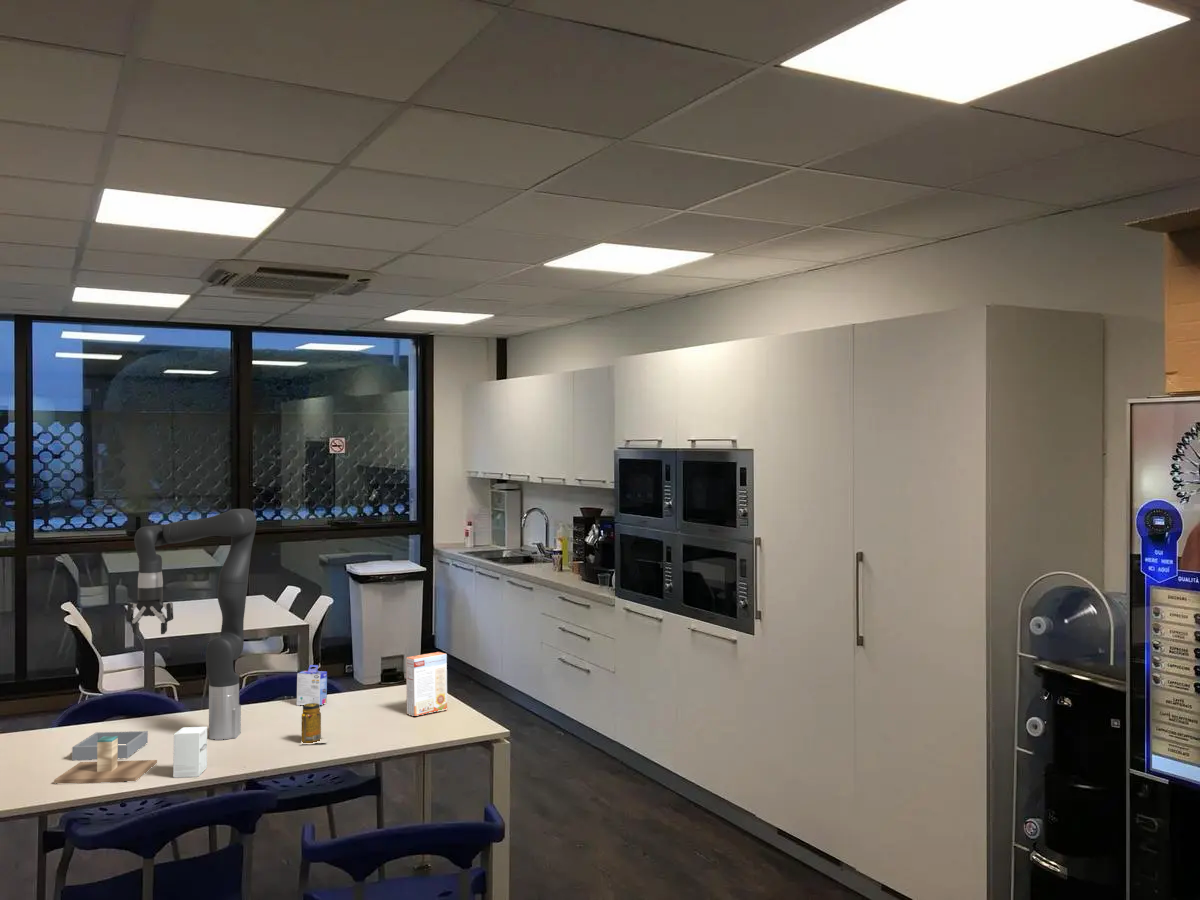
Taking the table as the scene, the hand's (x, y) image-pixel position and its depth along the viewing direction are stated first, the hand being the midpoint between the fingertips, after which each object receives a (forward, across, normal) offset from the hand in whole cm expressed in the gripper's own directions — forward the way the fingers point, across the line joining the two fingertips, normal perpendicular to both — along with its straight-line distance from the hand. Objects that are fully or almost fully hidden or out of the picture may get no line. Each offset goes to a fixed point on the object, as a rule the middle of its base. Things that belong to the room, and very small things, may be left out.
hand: (149, 634), depth 314 cm
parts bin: (+33, -4, -20) cm, 39 cm away
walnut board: (+33, +4, -42) cm, 54 cm away
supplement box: (+33, +28, -44) cm, 62 cm away
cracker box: (+33, +90, +18) cm, 98 cm away
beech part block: (+32, +4, -42) cm, 53 cm away
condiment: (+33, +57, -15) cm, 68 cm away
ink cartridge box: (+33, +46, +34) cm, 66 cm away
